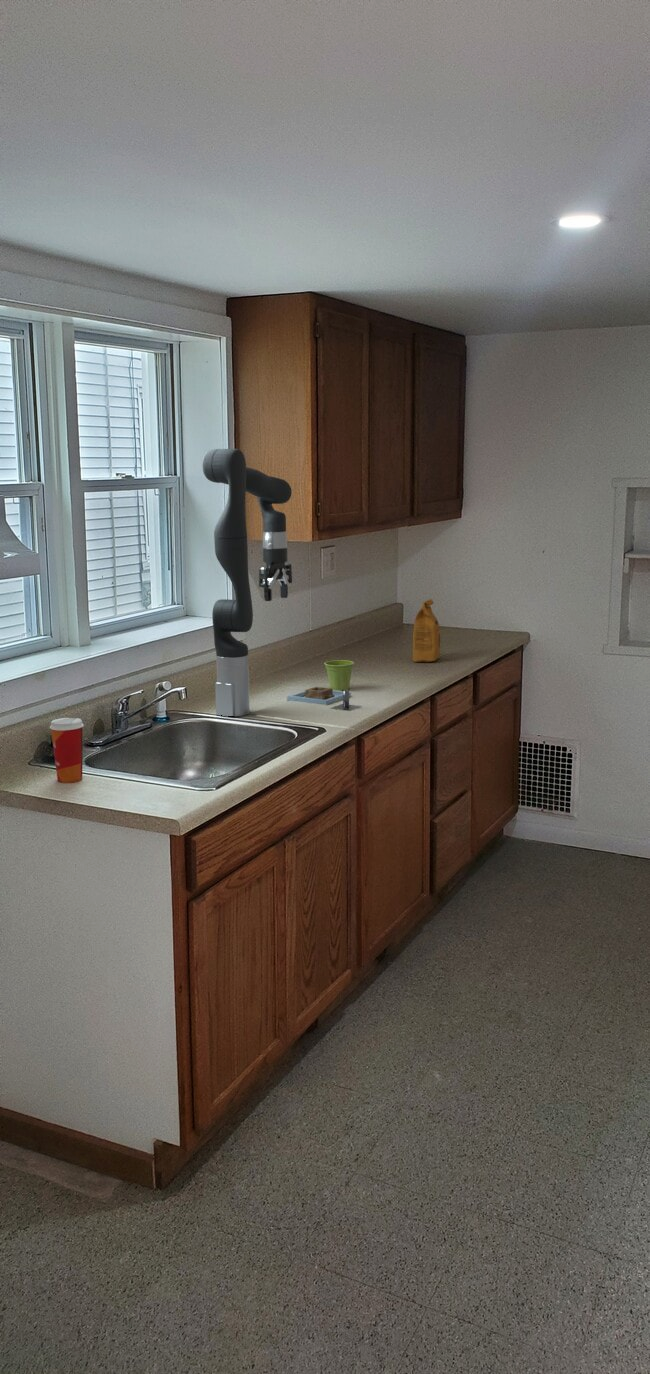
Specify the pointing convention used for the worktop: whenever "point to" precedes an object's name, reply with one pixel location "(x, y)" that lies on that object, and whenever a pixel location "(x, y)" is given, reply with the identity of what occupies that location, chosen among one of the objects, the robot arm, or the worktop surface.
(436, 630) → the coffee package
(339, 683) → the plant pot
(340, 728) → the worktop surface
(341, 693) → the tray
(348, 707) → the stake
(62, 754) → the paper cup
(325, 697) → the brown hollow rectangular frame
